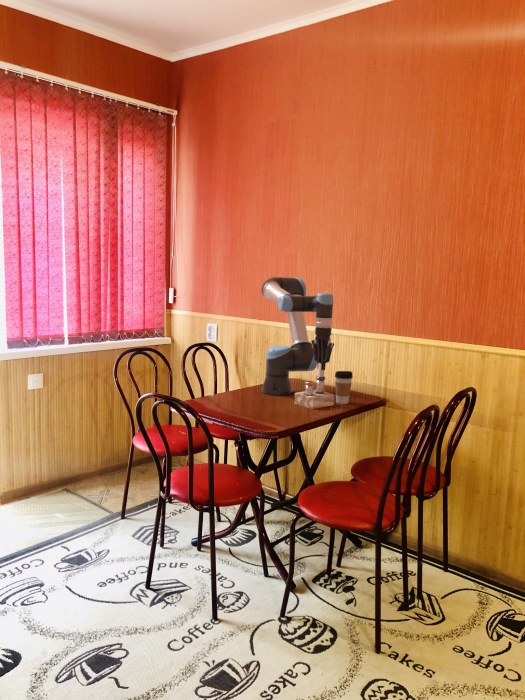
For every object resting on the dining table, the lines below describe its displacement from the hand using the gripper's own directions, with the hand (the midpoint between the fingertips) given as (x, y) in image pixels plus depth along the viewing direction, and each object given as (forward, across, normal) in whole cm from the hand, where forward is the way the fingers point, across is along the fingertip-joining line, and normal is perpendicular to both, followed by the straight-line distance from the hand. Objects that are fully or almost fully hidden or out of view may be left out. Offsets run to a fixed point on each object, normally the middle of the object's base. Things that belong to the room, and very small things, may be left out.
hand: (320, 376), depth 268 cm
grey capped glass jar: (+9, 0, 0) cm, 9 cm away
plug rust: (+11, 0, -7) cm, 13 cm away
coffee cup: (+13, +5, +11) cm, 18 cm away
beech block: (+13, 0, -4) cm, 13 cm away
